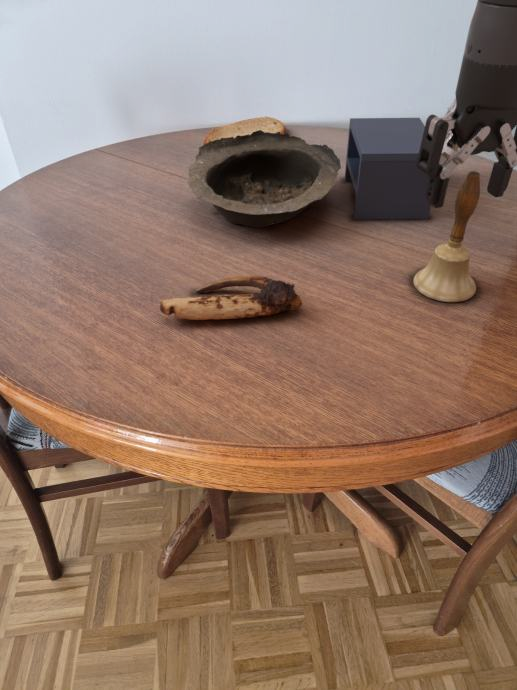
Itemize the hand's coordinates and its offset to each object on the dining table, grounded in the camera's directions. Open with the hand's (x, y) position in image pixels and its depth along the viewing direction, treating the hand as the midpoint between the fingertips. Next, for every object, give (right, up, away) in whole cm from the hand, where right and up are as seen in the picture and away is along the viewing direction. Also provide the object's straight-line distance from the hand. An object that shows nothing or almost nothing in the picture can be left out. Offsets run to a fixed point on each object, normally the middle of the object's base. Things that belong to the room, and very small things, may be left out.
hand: (465, 199), depth 66 cm
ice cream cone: (+9, +13, +35) cm, 38 cm away
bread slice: (-28, +25, +50) cm, 63 cm away
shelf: (-3, +8, +29) cm, 30 cm away
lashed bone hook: (-29, -13, +5) cm, 32 cm away
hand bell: (0, -10, +8) cm, 13 cm away
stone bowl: (-24, +5, +26) cm, 36 cm away
